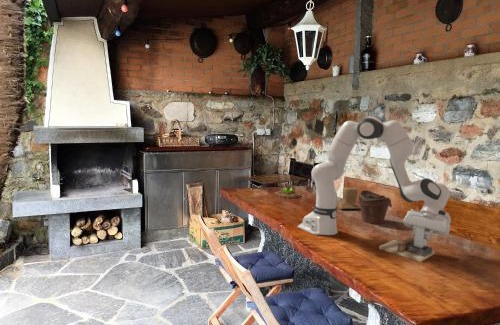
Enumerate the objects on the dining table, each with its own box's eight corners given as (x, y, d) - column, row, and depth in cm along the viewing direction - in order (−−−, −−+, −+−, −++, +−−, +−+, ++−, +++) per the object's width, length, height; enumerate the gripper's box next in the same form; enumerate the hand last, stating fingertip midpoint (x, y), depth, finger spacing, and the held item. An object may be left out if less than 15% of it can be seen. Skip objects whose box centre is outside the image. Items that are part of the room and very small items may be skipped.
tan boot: (353, 206, 261) (355, 185, 259) (361, 210, 250) (363, 189, 248) (334, 206, 258) (335, 186, 256) (341, 210, 247) (342, 189, 245)
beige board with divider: (379, 248, 175) (380, 237, 175) (393, 242, 185) (394, 232, 185) (420, 261, 160) (422, 250, 160) (434, 254, 170) (435, 242, 170)
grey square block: (413, 247, 168) (415, 226, 167) (417, 245, 171) (419, 225, 170) (422, 250, 165) (424, 229, 164) (425, 248, 168) (427, 227, 167)
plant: (287, 192, 303) (287, 179, 302) (304, 196, 289) (305, 183, 287) (269, 195, 291) (270, 181, 289) (287, 199, 276) (288, 185, 274)
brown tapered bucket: (391, 227, 212) (393, 197, 210) (355, 223, 218) (357, 194, 216) (389, 219, 229) (392, 191, 226) (357, 215, 235) (359, 188, 233)
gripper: (407, 205, 178) (396, 227, 173) (452, 214, 163) (441, 239, 158) (410, 212, 182) (400, 235, 176) (454, 222, 167) (444, 246, 161)
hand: (420, 237), depth 167 cm, fingers closed on grey square block, 4 cm apart
